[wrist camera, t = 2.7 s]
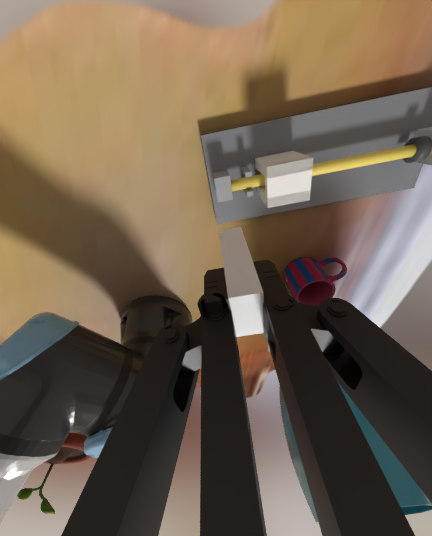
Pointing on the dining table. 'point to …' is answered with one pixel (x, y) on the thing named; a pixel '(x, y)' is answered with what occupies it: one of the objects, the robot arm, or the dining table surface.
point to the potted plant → (67, 455)
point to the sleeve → (285, 178)
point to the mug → (311, 280)
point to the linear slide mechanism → (325, 153)
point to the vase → (393, 470)
